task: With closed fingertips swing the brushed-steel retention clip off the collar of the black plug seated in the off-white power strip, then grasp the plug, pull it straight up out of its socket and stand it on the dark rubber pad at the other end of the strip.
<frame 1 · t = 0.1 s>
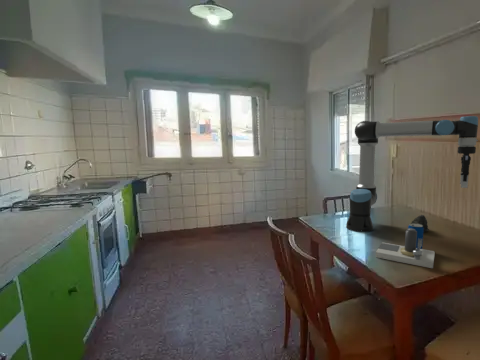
hand: (463, 185, 156), 28 cm above the table, fingers open, 13 cm apart
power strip: (405, 256, 134), on the table
rock: (417, 230, 171), on the table
clip: (418, 246, 130), point 6 cm above the table, hinge at 0.0°
beverage can: (414, 249, 143), on the table
plug: (409, 258, 131), resting in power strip
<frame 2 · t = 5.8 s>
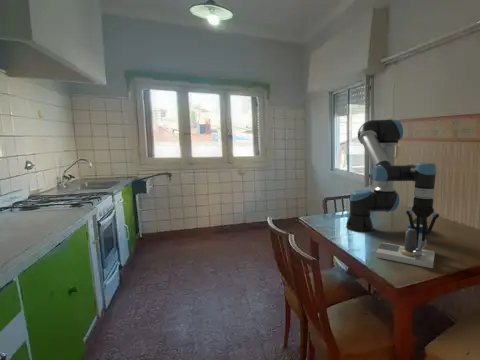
hand: (419, 247, 134), 4 cm above the table, fingers closed
clip: (420, 247, 129), point 6 cm above the table, hinge at -7.0°, touching gripper
everything else where it was.
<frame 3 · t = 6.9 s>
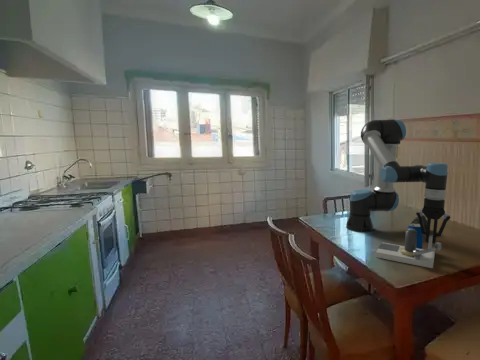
hand: (429, 249, 131), 4 cm above the table, fingers closed
clip: (427, 248, 127), point 6 cm above the table, hinge at -31.3°, touching gripper
everything else where it was.
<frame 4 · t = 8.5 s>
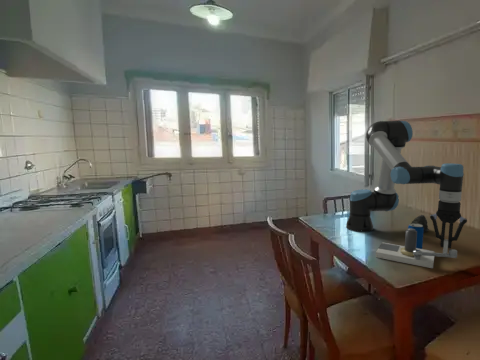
hand: (444, 254, 124), 4 cm above the table, fingers closed
clip: (434, 252, 123), point 6 cm above the table, hinge at -68.9°
everything else where it was.
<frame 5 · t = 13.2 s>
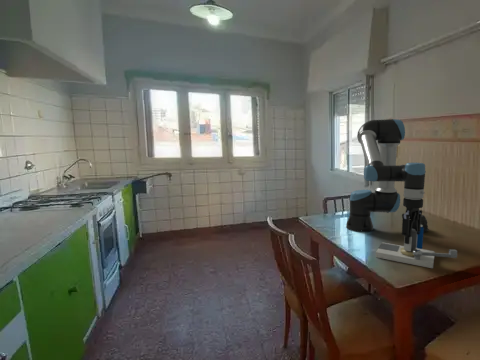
hand: (410, 248, 131), 5 cm above the table, fingers closed on plug, 4 cm apart
plug: (409, 258, 131), resting in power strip, touching gripper
everything else where it was.
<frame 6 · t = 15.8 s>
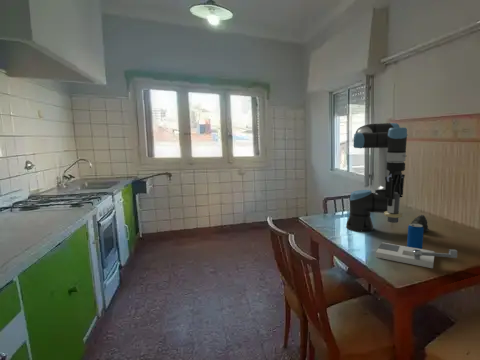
hand: (393, 211, 136), 20 cm above the table, fingers closed on plug, 4 cm apart
plug: (392, 221, 137), point 15 cm above the table, touching gripper
everything else where it was.
when the fingers open (9 cm above the table, at t = 18.4 s): plug drops 1 cm, resting on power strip.
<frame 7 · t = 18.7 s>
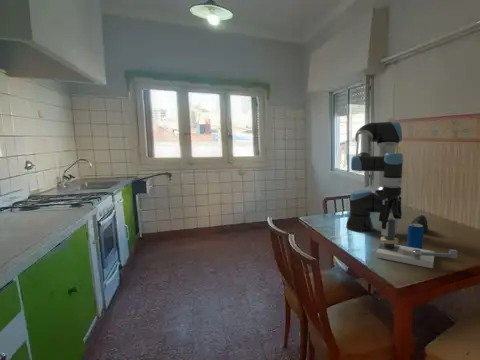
hand: (389, 233, 138), 9 cm above the table, fingers open, 8 cm apart
plug: (389, 246, 139), point 3 cm above the table, touching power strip
everything else where it was.
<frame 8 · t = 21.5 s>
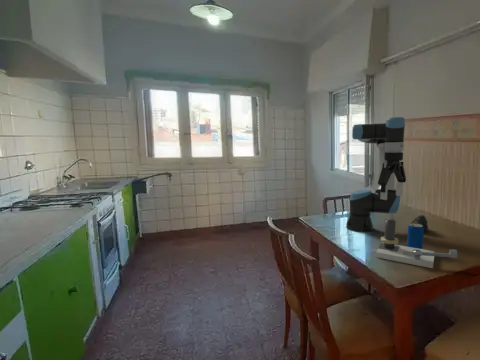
hand: (391, 197, 136), 27 cm above the table, fingers open, 13 cm apart
nothing on the table moved.
at the end: clip at -69° (first picture: +0°); plug inside the target area (0.0 cm from its centre), point 2.7 cm above the table; plug tilted 0° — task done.
